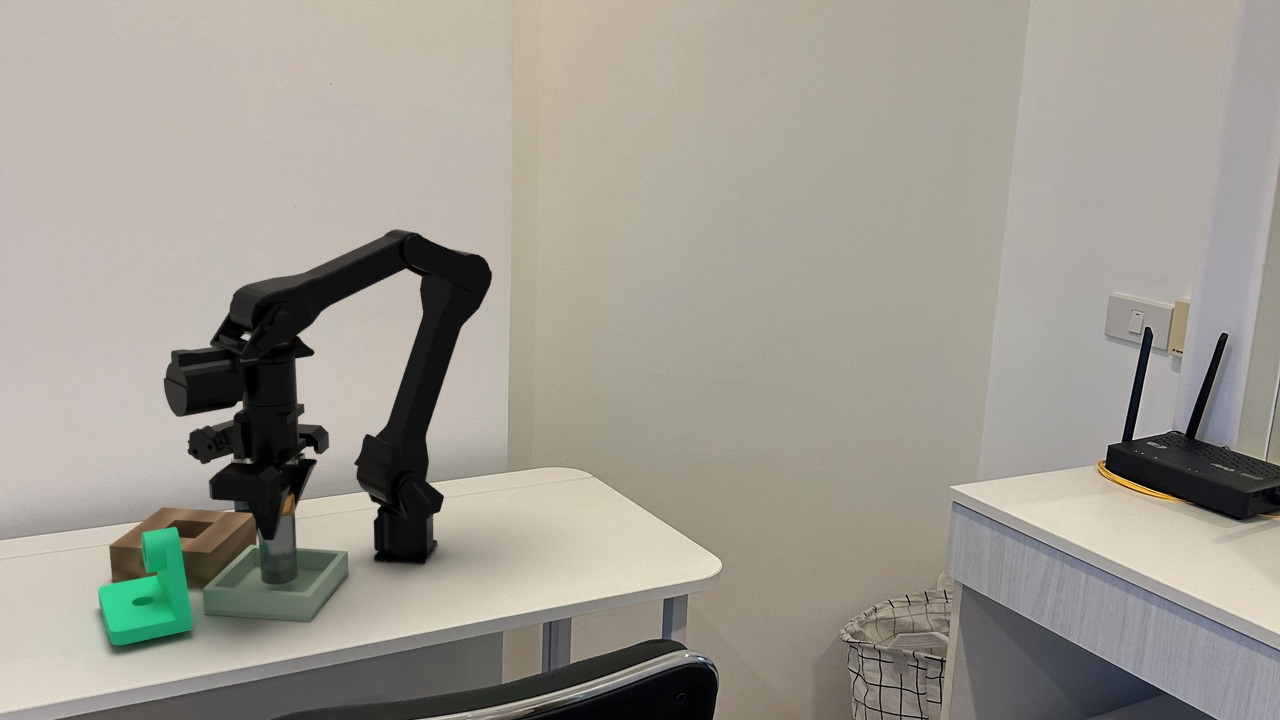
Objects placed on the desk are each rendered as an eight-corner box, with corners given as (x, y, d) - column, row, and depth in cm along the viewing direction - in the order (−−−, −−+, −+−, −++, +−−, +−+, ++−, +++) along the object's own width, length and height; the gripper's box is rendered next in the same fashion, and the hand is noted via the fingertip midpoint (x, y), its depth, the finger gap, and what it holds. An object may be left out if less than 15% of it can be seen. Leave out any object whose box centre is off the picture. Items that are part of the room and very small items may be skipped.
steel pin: (269, 568, 123) (265, 487, 121) (303, 570, 123) (299, 489, 121) (255, 583, 119) (250, 500, 117) (289, 585, 119) (285, 502, 117)
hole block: (256, 546, 134) (254, 513, 133) (212, 588, 122) (209, 552, 121) (165, 540, 135) (162, 507, 134) (112, 581, 123) (109, 545, 122)
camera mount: (98, 608, 117) (90, 521, 115) (173, 593, 121) (166, 509, 119) (113, 656, 107) (104, 563, 105) (193, 639, 111) (187, 548, 109)
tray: (348, 574, 127) (347, 551, 126) (310, 621, 115) (309, 596, 115) (251, 567, 128) (250, 544, 127) (204, 614, 116) (202, 589, 116)
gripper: (237, 374, 126) (244, 497, 129) (154, 420, 108) (166, 562, 111) (328, 379, 125) (333, 503, 129) (261, 426, 107) (268, 568, 111)
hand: (276, 531), depth 120 cm, fingers closed on steel pin, 4 cm apart
